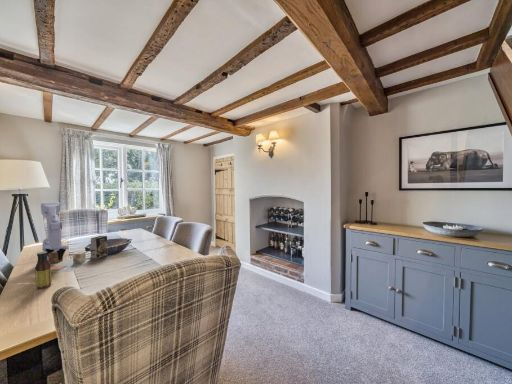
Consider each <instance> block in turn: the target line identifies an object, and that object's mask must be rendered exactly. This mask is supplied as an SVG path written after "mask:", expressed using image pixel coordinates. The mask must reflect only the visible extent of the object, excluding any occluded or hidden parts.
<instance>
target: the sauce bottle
mask: <svg viewBox="0 0 512 384" xmlns="http://www.w3.org/2000/svg"><path fill="white" fill-rule="evenodd" d="M36 256H37V262H36V265H35V267H34V273H35V274H34V275H35V277H34V278H35V288H36V289H38V290H40V289H41V290H43V289H46V288H48V287H49V288H50V287H51V285H52V272H51V267H52V266H51V264H50V262H49V261H48V260H47V252H46V251H45V252H43V251H40V252H37V253H36Z"/></svg>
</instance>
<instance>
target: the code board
mask: <svg viewBox="0 0 512 384" xmlns="http://www.w3.org/2000/svg"><path fill="white" fill-rule="evenodd" d="M90 261H91V259H85V262H83V263H81V264H73V259H66V260H64V261H62V262H60V263H58V264H55V266H66V267H65V268H63V269H61V270H59V271H51V273H57V272H58V273H59V272H60V273H61V272H62V273H63V272H64V273H65V272H72V271H73V270H75V269H77V268H80V267H82V266H83V265H84V264H86V263H89V262H90Z"/></svg>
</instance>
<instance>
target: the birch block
mask: <svg viewBox="0 0 512 384" xmlns="http://www.w3.org/2000/svg"><path fill="white" fill-rule="evenodd" d="M72 260H73V264H81V263H83V262H85V260H86V251H76V252H75V253H73V254H72Z"/></svg>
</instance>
